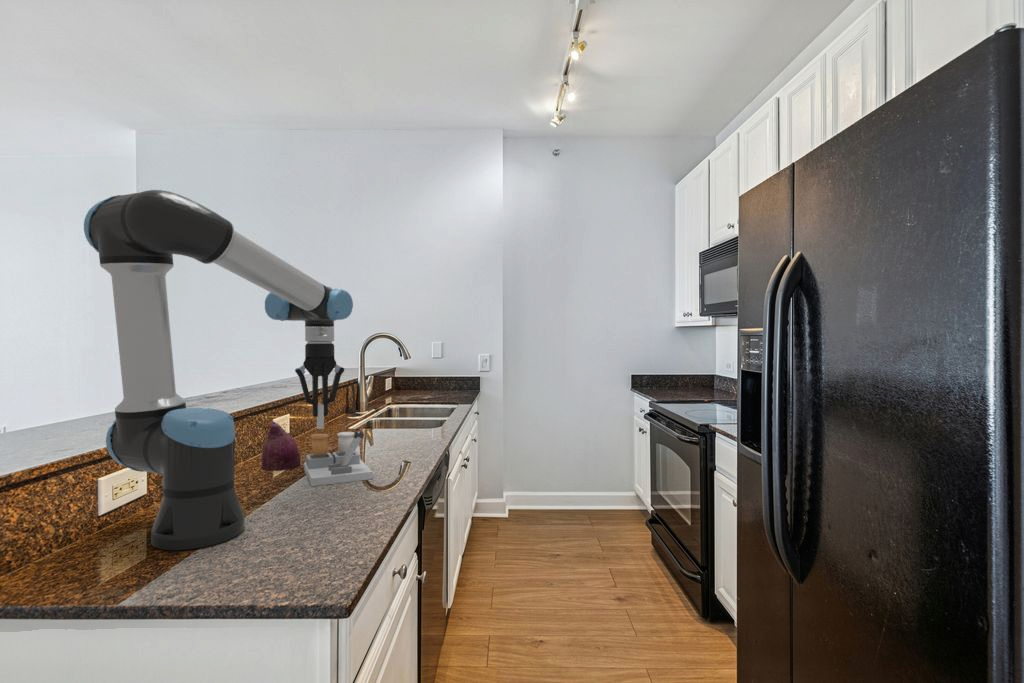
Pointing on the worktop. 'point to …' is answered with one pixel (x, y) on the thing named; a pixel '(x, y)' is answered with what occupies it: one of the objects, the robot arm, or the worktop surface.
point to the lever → (352, 448)
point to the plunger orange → (319, 444)
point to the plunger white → (344, 441)
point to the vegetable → (279, 450)
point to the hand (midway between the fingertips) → (320, 428)
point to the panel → (335, 469)
